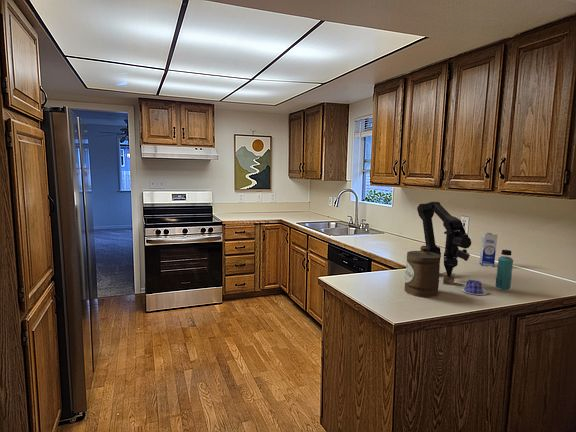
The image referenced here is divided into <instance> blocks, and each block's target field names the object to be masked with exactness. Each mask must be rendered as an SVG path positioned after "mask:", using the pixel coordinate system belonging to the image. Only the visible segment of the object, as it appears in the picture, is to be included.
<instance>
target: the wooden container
mask: <svg viewBox="0 0 576 432" xmlns="http://www.w3.org/2000/svg"><path fill="white" fill-rule="evenodd" d="M427 250H428V247H426V245H421V246H420V250H410V251H407V252H406V263H405V275H404V276H405V277H404V278H405V279H404V291H405V293H407V294H409V295H411V296H415V297H420V298H434V297H437V296H438V295H439V284H440V272H441V271H440V268H441V267H440V266H441V258H440V255H439V254H436V253H432V252H428V251H427Z"/></svg>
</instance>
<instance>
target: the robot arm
mask: <svg viewBox="0 0 576 432" xmlns="http://www.w3.org/2000/svg"><path fill="white" fill-rule="evenodd" d="M416 211H417V214H418V216H419V218H420V219H421V220H422V227H423V234H424V240H425V242H424V243H425V246H426V247H428V250H427V251H428V252H432V253H436V254H439V255H440V259H441V257H442V253H441V247H440V246H438V245H437V244H436V239H435V232H434V225H433V217H434V214H435V215H436V216H437V217H439V219H440V220H441V221H442V226H443V227H444V229H445V231H444V232H443V234H444V235H446V236H445V247H444V252H443V266H444V268H445V271H446V272H447V275H448V277H450V276H451V273H453V270H454V268H456V267H457V266H458V263H459V261H458V258H460V259H462V260H464V261H466V262H467V261H468V260H469V258H470V256H471V254H470V253H469V252H468V250H467V249H469V248H470V247H471V245H472V240H471V238H470V237H469V233H468V234H467V233H466V229H465V227H464V223H463V222H462V220H461V219H459V218H457V217H456V216H454V215H451V214H450V212H449V211H448V210H446V208H444V206H443V205H442V204H441V203H440V202H439V201H430V202H426V203H420V204H418V205H417V209H416ZM459 248H462V249H459Z"/></svg>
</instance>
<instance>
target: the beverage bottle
mask: <svg viewBox="0 0 576 432" xmlns="http://www.w3.org/2000/svg"><path fill="white" fill-rule="evenodd" d="M501 255H502V256H500V257H498V259H497V261H498V262H497V265H496V266H497V269H496V276H495V284H494V285H495V288H497V289H501V290H505V291H507V290H508V291H509V290H510V289H511V287H512V276H513V275H512V273H513V266H514V265H513V264H514V259H513V258H512V257H510V256H512V251H511V250H510V249H502V250H501Z"/></svg>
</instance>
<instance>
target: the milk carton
mask: <svg viewBox="0 0 576 432" xmlns="http://www.w3.org/2000/svg"><path fill="white" fill-rule="evenodd" d="M481 235H482V236H481V246H480V255H479V265H480V266H481V267H488V266H492V267H491V268H495V260H496V251H497V242H498V234H493V233H492V232H487V233H483V234H481Z"/></svg>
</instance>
